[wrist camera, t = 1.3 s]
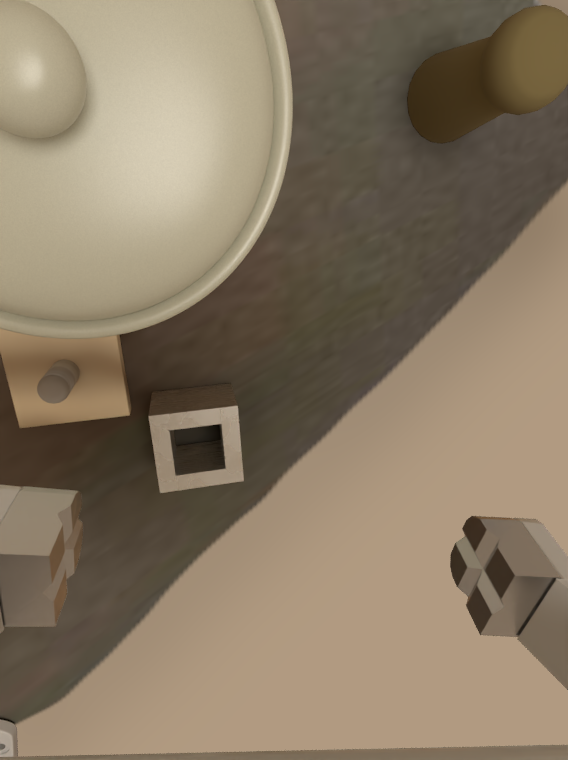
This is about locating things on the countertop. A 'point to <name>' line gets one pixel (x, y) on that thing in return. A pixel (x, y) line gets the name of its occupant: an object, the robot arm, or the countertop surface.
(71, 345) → the base plate
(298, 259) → the countertop surface
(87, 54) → the canister
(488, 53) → the olive pepper mill
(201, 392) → the white hollow square block
